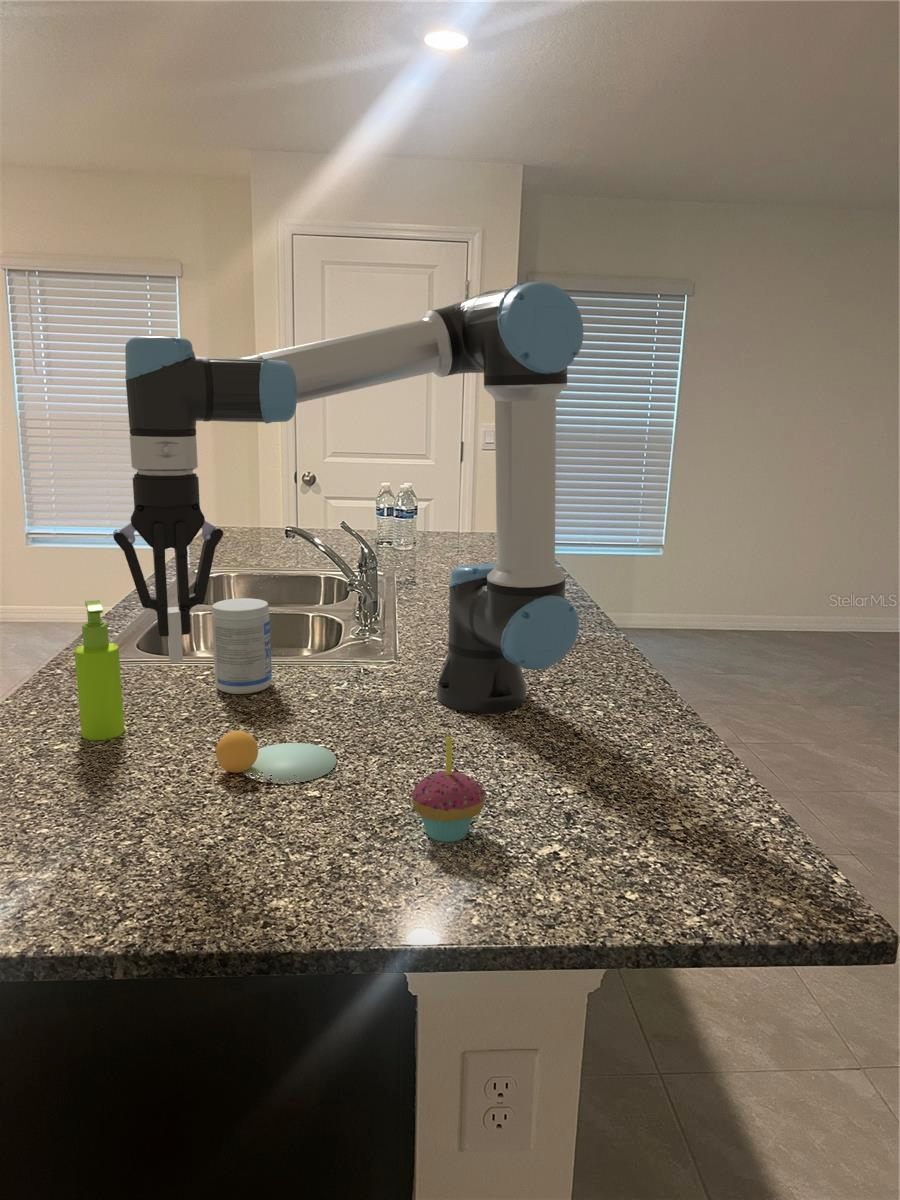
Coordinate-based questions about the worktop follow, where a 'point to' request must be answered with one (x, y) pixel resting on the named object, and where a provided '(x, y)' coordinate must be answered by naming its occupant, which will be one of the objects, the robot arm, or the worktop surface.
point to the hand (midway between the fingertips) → (175, 659)
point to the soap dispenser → (98, 679)
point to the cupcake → (448, 801)
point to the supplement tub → (242, 645)
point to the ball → (237, 751)
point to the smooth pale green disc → (292, 762)
